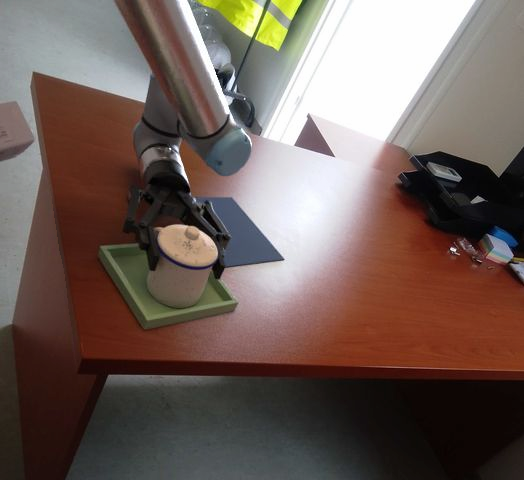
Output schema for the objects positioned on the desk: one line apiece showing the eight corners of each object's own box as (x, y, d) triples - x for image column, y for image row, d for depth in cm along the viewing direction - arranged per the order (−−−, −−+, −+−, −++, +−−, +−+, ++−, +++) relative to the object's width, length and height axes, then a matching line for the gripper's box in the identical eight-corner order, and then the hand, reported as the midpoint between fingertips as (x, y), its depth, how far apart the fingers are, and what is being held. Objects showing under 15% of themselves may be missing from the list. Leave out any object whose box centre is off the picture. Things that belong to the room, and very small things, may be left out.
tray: (97, 256, 70) (99, 245, 69) (187, 248, 81) (191, 239, 79) (144, 330, 64) (147, 320, 63) (234, 310, 75) (239, 302, 74)
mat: (167, 198, 88) (168, 197, 88) (231, 198, 99) (231, 197, 99) (221, 268, 81) (221, 267, 81) (284, 260, 91) (284, 259, 91)
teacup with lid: (212, 300, 73) (237, 244, 65) (167, 317, 67) (188, 257, 59) (168, 253, 77) (186, 193, 69) (121, 264, 71) (135, 201, 63)
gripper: (101, 142, 70) (114, 234, 57) (230, 174, 81) (265, 259, 68) (93, 184, 75) (104, 278, 62) (216, 210, 86) (246, 294, 73)
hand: (188, 268), depth 65 cm, fingers closed on teacup with lid, 9 cm apart
